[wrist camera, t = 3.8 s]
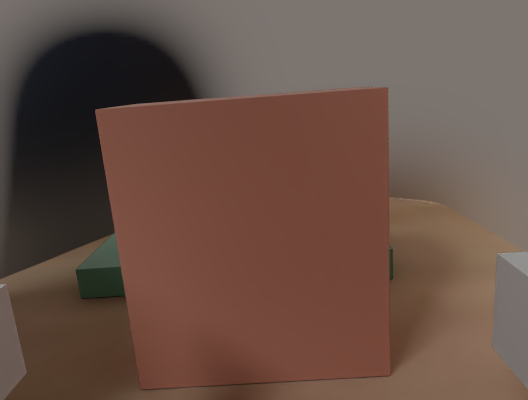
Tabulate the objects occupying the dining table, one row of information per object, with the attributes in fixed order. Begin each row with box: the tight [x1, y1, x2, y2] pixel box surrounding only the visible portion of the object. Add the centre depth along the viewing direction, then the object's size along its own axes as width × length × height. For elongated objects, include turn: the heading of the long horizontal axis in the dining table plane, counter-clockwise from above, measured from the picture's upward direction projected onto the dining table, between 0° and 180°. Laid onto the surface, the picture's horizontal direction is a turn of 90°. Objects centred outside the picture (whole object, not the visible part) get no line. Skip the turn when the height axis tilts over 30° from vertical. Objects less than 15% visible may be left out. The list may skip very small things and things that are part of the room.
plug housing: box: [95, 87, 390, 390], centre depth 21 cm, size 11×5×12 cm, turn 89°
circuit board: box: [76, 233, 393, 298], centre depth 34 cm, size 20×12×6 cm, turn 89°
